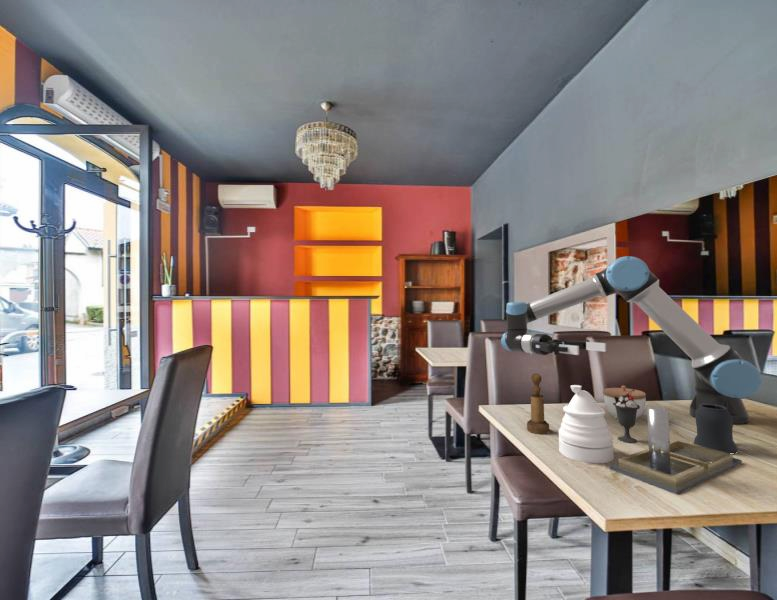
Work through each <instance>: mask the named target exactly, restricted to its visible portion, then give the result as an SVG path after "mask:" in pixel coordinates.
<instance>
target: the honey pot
mask: <svg viewBox="0 0 777 600" xmlns="http://www.w3.org/2000/svg"><path fill="white" fill-rule="evenodd" d="M570 389H571V391H572V393H574V395H573V396H572V398H571V400H570V401H569V403H568V404H567V405H564V406H563V407H562V411H563V412H565V413H564V416H563V417H562V419H561V420H562V421H561V423H560V427H559V429H558V450H559V453H560V454H561V455H562V456H564V457H567V459H568V458H569V459H571V460H574V461H577V462H582V463H586V464H587V463H588V464H606V463H610V462H612V461H613V460H614V457H615V456H614V455H615V454H614V444H613V443H614V441H613V435H612V433H611V432H610V431H611V430H610V428H609V426H608V425H609V424H608V422H607V421H606V419H605V417H604V416H605V414H606V411H605V410H604V409H603V408H601V407H600V405H599V404H598V402H597V401H596V399H595V398H594V397H593V395H592V394H591V393H590V392H589V391H586V390H583V389H582V385H579V384H572V385H570Z"/></svg>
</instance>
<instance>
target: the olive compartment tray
mask: <svg viewBox="0 0 777 600" xmlns="http://www.w3.org/2000/svg"><path fill="white" fill-rule="evenodd" d="M646 412H647V432H648V433H647V434H648V435H647V436H648V438H647V439H648V449H644V450H641V451H638V452H635V453H632V454H629V455H627V456H624V457H621V458H620V457H619V458H618V462H617V463H613V464H610V465H609V469H610V470H611V471H614V472H617V473H619V474H622V475H625V476H628V477H630V478H633V479H635V480H637V481H640V482H643V483H646V484H648V485H651V486H654V487H657V488H659V489H662V490H664V491H667V492H669V493H672V494H674V495H678V494H679V493H682V492H684V491H686V490H689V489H690V487H691V488H692V486H693V487H694V485H695V486H697V485H698V483H699V484H701V483H703V482H705V480H706V481H708V480H709V478H710V479H711V477H712V478H714V477H716V476H718V475H720V474H722V472H723V473H724V471H725V472H726V470H727V471H728V469H729V470H731V469H732V467H733V468H735V467H737V466H739V465H742V464H743V460H742V459H740V458H735V457H733V454H730V453H726V452H722V451H719V450H715V449H711V448H707V447H703V446H700V445H696V444H693V443H692V442H688V441H685V440H680V439H675V438H674V439H672V440H670V424H669V422H670V421H669V409H667V408H665V407H660V406H648V407H647V408H646ZM741 463H742V464H741ZM738 464H739V465H738ZM736 465H737V466H736ZM734 466H735V467H734ZM730 468H731V469H730ZM715 475H716V476H715ZM713 476H714V477H713ZM707 479H708V480H707ZM702 481H703V482H702ZM700 482H701V483H700ZM696 484H697V485H696ZM688 488H689V489H688Z"/></svg>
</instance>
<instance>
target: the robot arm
mask: <svg viewBox="0 0 777 600" xmlns="http://www.w3.org/2000/svg"><path fill="white" fill-rule="evenodd" d="M615 294H619V295H620V296H621V297H622V299H624V300H625V301H626V303H632V304H633V303H634V304H635V305H637V306H638V308H639V309H641V311H643V312H644V313H645V315H647V316H648V318H650V319H651V321H653V323H654V324H656V325H657V326H658V328H660V329H661V330H662V331H663V333H665V334H666V336H667V337H669V339H671V340H672V341H673V342H674V343H675V344H676V345H677V346H678V347H679V348H680V349H681V350H682V351H683V352H684V353H685V355H687V356H688V357H689V358H690V359H691V367H692V368H693V375H694V394H693V397H692V400H691V403H690V405H689V415H691V416H692V417H695V418H696V415H695V412H696V411H697V410H698V409H699V405H700V404H715V405H721V406H724V407H726V408H727V409H728V412H729V413H730V415H731V416H732V422H733V424H735V425H736V424H737V425H739V424H747V423H749V422H750V418H749V417H750V416H749V415H750V414H749V412H748V410H747V408H746V406H745V405H744V401H743V400H742V398H747V397H750V396H752V395H754V394H755V393H756V392H758V390H759V389H760V388H761V386H762V381H763V379H762V375H761V372H760V370H759V369H758V368H757V366H755V364H752V363H751V362H750V361H747V360H745V359H744V358H743V357H742V356H740V354H739V353H738V351H736V350H734V349H733V348H732V347H731V346H730V345H728V344H721V343H719V342H718V341H717V340H716V339H715V338H713V336H712V335H710V334H709V333H708V332H707V331H706V330H705V329H704V328H703V327H702V326H701V325H700V324H699V323H698V322H697V321H696V320H694V319H693V317H691V316H690V315H689V313H687V312H686V311H685V309H683V308H682V307H681V306H680V305H679V304H678V303H677V302H676V301H675V300H674V299H672V298H671V297H670V296H669V294H667V293H666V292H665V291H664V290H663V289H662V288H661V287H660V279H659V278H658V277H657V276H656V275H655V274H654V273H653V272H651V270H650V269H649V266H648V265H647V263H646V262H645V261H644V260H642V259H641V258H638V257H636V256H629V255H628V256H627V255H625V256H621V257H618V258H616V259H615V260H613V261H612V262H611V263H610V264H609V265H608V266H607V267H606V268H604V269H602V270H601V271H598V272H596V273H594V274H593V275H592V277H591V278H588V279H586V280H584V281H582V282H579V283H576V284H573V285H571V286H569V287H566V288H563V289H561V290H558V291H556V292H554V293H551V294H549V295H547V296H546V295H545V296H543V297H541V298H537V299H536V300H534V301H532V302H531V301H530V302H528V303H526V302H524V301H520V302H519V301H518V302H517V301H515V302H507V303H506V310H505V312H506V332H504V333H503V334H501V335H502V336H501V339H500V344H501V346H502V348H503V349H504V350H506V351H510V352H513V353H515V352H516V353H524V354H525V353H526V354H530V356H533V355H541V356H547V355H549V354H552V353H554V354H553V355H555V356H559V354H566V355H575V356H580V350H586V351H595V352H604V353H605V352H607V342H596V341H590V340H589V339H586V341H584V340H583V341H581V340H566V339H558V338H557V339H556V338H555V339H552V337H551V336H550V335H549V334H547V333H546V334H545V333H534V332H533V333H532V332H528V324H529V323H532V322H534V321H537V320H538V319H539V320H540V319H542V318H544V317H547V316H550V315H553V314H555V313H558V312H561V311H563V310H566V309H569V308H571V307H575V306H577V305H579V304H582V303H585V302H588V301H590V300H593V299H595V298H598V297H600V296H602V297H604V298H605V297H609V296H612V295H615Z"/></svg>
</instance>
